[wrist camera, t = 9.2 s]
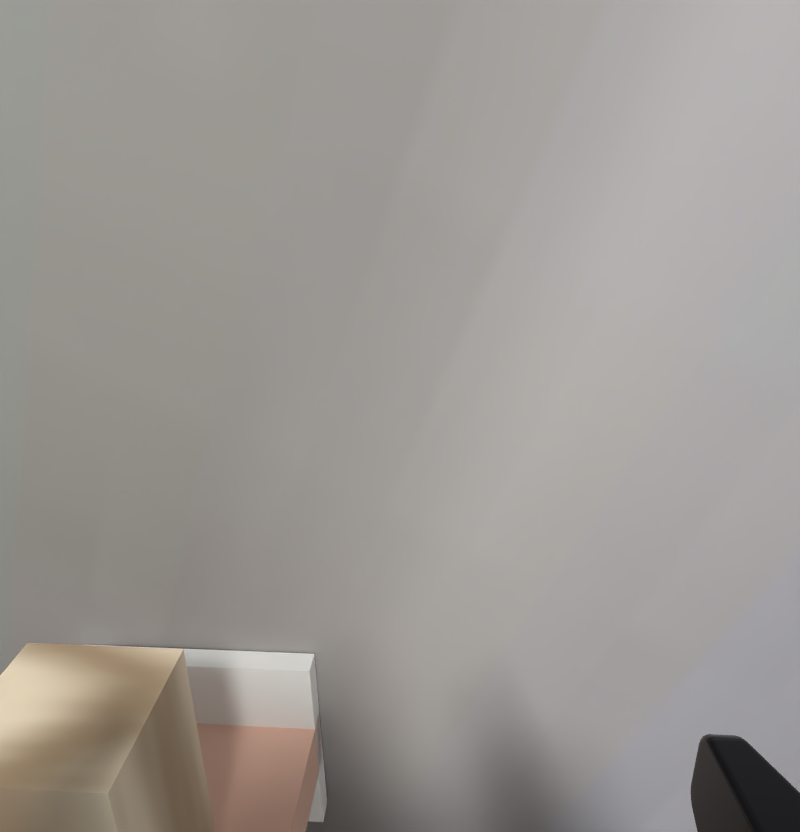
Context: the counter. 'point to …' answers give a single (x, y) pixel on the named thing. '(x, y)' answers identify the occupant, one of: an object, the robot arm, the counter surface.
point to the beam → (100, 742)
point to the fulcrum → (259, 738)
